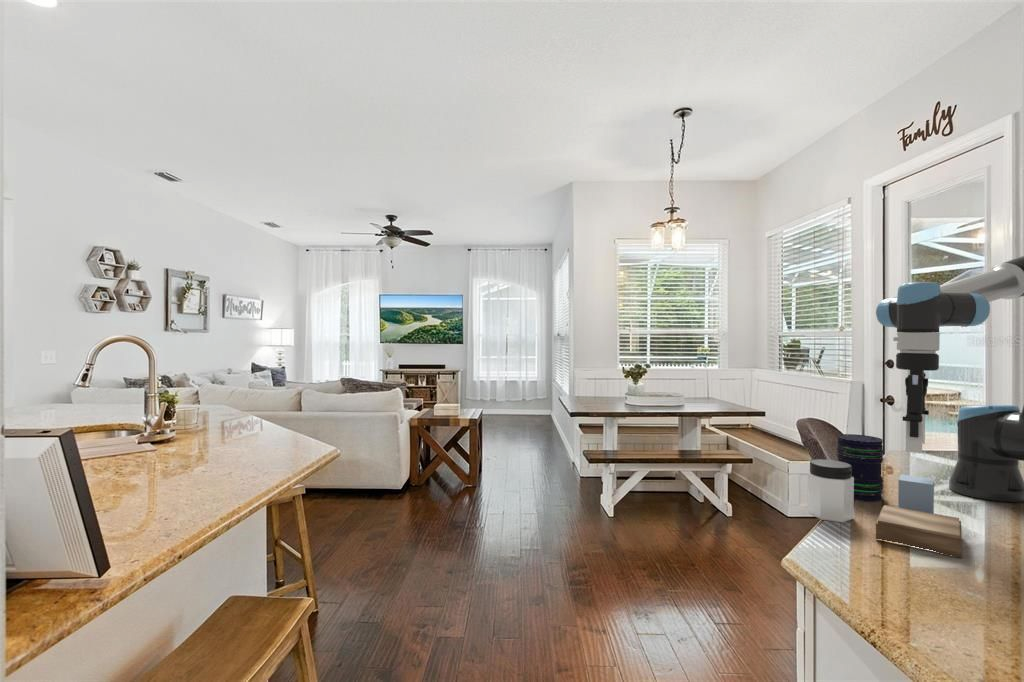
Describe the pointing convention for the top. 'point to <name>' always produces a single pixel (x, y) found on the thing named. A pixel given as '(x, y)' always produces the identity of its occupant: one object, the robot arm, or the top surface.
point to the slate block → (916, 493)
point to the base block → (920, 530)
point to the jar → (831, 490)
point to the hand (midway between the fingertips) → (915, 447)
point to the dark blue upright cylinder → (863, 464)
